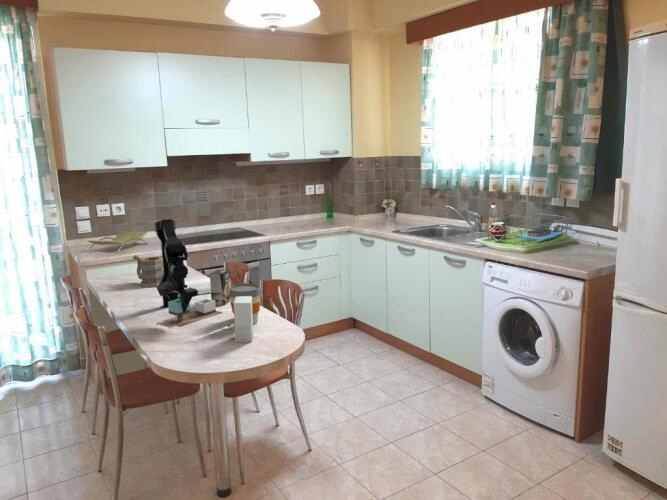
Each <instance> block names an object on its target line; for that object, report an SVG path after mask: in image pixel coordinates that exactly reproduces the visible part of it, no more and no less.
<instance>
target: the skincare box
mask: <svg viewBox="0 0 667 500" xmlns="http://www.w3.org/2000/svg"><path fill="white" fill-rule="evenodd" d="M233 315H234V322H233V323H234V340H235V341H234V342H235V344H236V343H252V342H253V338H254V325H253V315H252V296H240V297H235V300H234V313H233Z"/></svg>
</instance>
